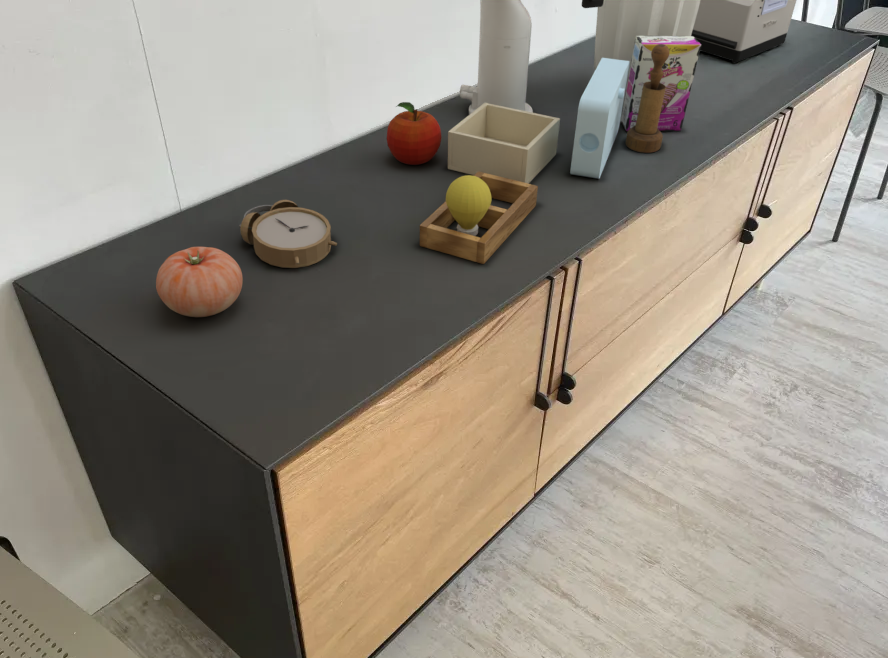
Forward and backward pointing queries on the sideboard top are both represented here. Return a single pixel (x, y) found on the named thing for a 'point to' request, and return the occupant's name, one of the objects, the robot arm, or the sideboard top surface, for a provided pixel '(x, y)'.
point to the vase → (639, 24)
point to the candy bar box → (674, 78)
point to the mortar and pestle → (650, 107)
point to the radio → (599, 117)
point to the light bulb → (468, 202)
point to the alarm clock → (287, 234)
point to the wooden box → (503, 142)
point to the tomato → (199, 281)
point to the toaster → (741, 26)
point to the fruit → (413, 136)
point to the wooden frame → (481, 221)
